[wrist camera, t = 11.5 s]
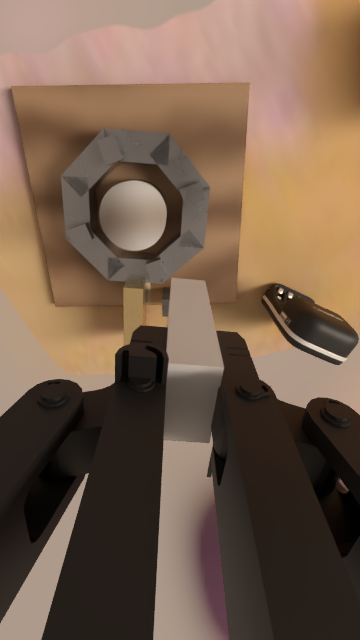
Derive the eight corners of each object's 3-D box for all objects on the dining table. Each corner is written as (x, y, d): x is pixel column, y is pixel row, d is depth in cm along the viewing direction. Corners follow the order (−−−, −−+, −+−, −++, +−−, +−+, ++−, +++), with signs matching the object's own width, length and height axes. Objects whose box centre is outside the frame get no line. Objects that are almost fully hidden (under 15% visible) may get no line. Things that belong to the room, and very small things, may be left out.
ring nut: (66, 128, 30) (48, 121, 26) (211, 140, 31) (218, 135, 26) (81, 331, 40) (69, 352, 35) (192, 337, 40) (194, 358, 36)
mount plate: (15, 89, 30) (-27, 67, 23) (247, 85, 30) (267, 62, 24) (58, 303, 39) (36, 329, 33) (234, 299, 39) (245, 324, 33)
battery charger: (321, 296, 40) (373, 340, 29) (303, 321, 41) (347, 371, 31) (274, 273, 38) (311, 312, 28) (257, 300, 40) (287, 346, 29)
